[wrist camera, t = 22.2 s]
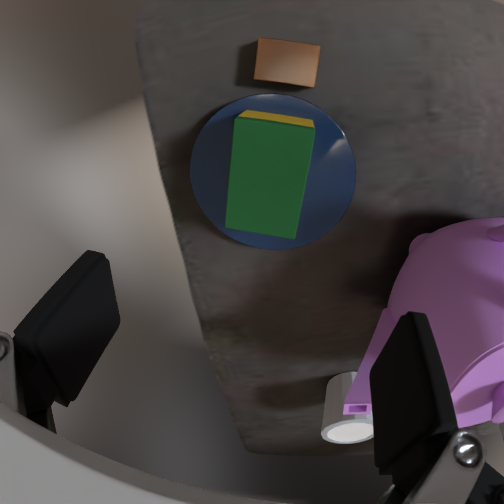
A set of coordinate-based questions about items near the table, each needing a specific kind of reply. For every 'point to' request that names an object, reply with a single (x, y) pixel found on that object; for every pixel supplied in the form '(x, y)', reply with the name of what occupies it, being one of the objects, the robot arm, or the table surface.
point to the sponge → (268, 172)
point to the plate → (318, 180)
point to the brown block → (287, 62)
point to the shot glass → (339, 424)
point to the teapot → (451, 316)
